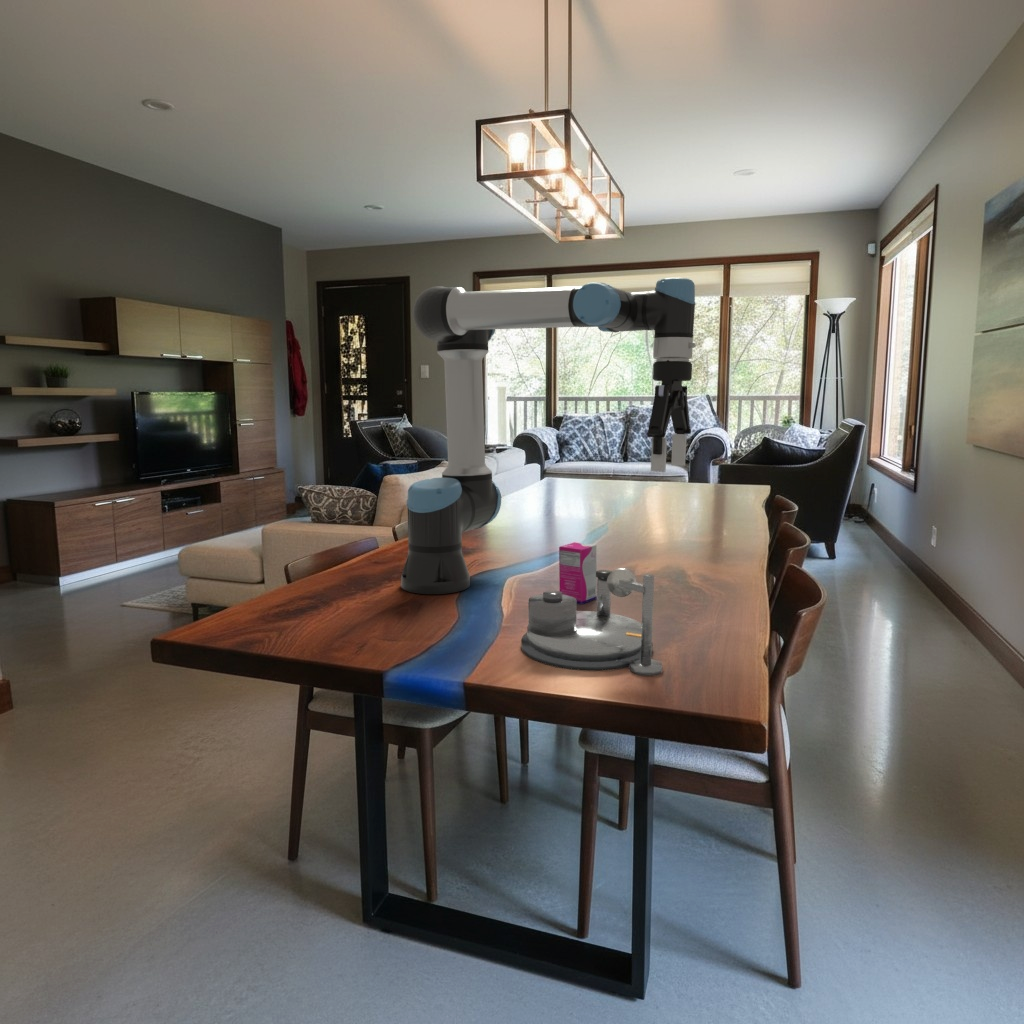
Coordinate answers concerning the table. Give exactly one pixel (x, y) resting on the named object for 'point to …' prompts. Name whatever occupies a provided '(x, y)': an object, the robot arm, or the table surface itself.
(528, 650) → the base
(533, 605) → the cover
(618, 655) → the turntable
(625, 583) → the metal lever handle
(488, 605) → the table surface
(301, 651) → the table surface
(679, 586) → the table surface
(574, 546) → the supplement box
